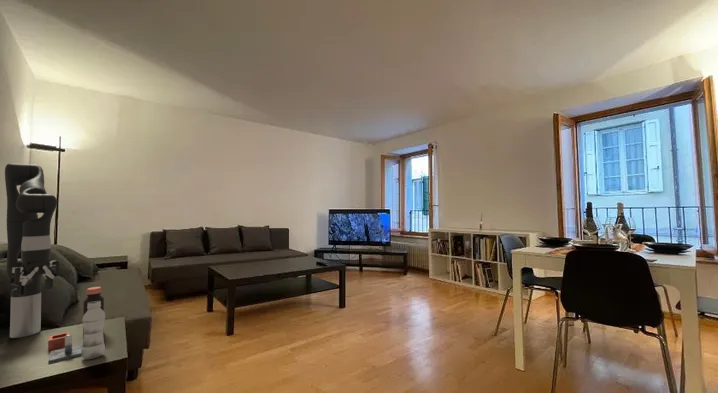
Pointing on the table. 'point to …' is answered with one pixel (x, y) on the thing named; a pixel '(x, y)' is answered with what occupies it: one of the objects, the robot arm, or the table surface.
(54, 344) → the link
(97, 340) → the plastic bottle
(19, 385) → the table surface
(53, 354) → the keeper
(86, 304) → the vinegar
